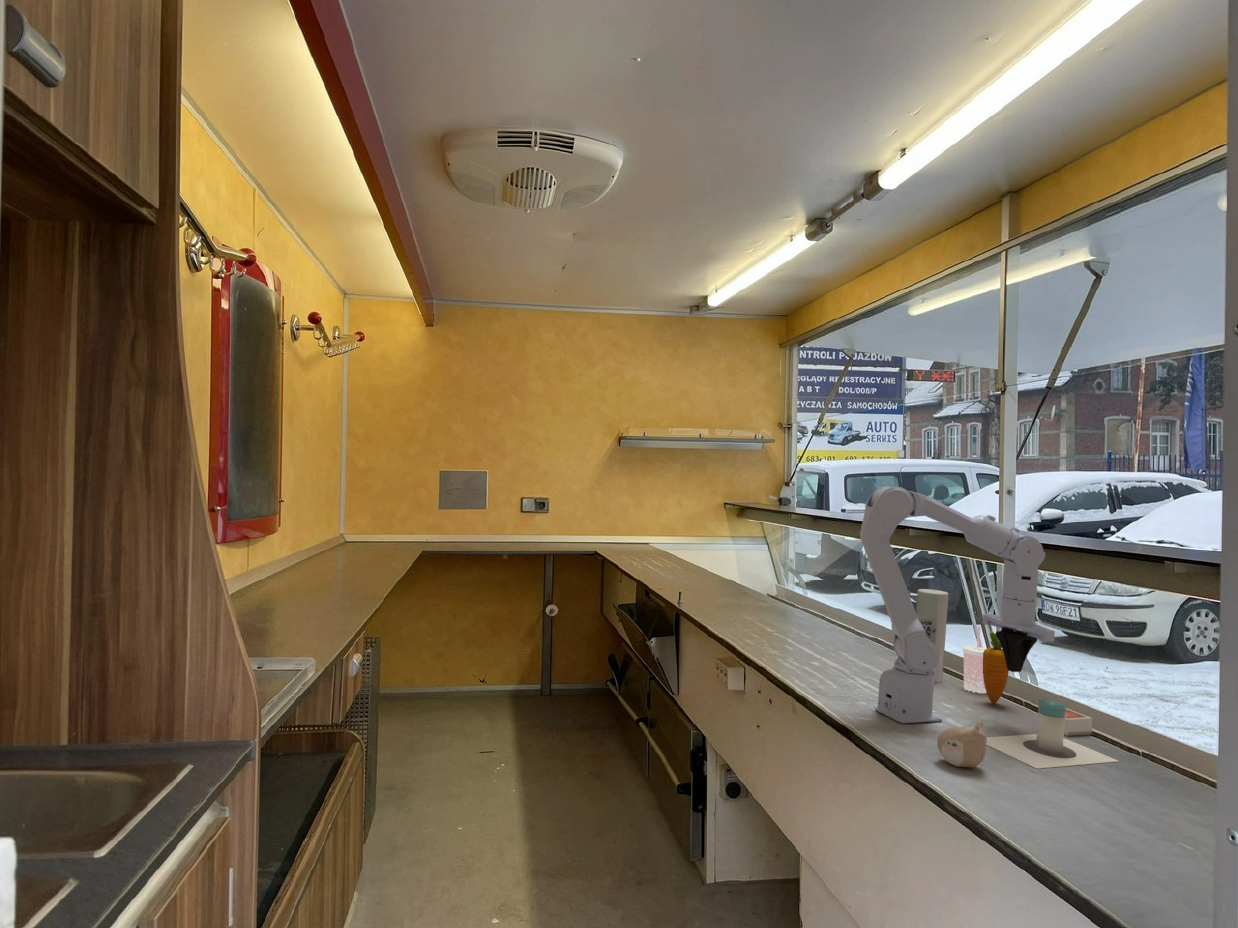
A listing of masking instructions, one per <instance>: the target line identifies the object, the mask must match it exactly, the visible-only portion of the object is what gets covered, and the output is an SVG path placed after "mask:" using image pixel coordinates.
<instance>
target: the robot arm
mask: <svg viewBox="0 0 1238 928" xmlns="http://www.w3.org/2000/svg"><path fill="white" fill-rule="evenodd" d="M864 507H865V508H864V515H863V518H862V523H861V527H860V531H859V538H860V541H861V544H862V547H863V550H864V553H865V554H866V557H867V560H868V562H869V565H870V568H871V570H872V573H873V576H874V578H875V582H876V584H877V587H878V590H879V592H880V595H881V598H882V600H883V603H884V605H885V609H886V611H887V614H888V616H889V619H890V622H891V630H892V633H893V644H892V645H893V651H894V652H895V654H896V656H897V658H896V660H895V661H894V666H893V667H892V668H891V669H887V670H886V669H885V670H884V671H882V673H881V675H880V676H879V683H878V696H877V697H878V699H877V706H875V707H874V710H875V711H877V712H879V713H881V714H882V715H885V716H887V717H888V718H891V719H893V720H894V721H897V722H899V723H901V724H915V723H931V722H932V723H933V722H943V718H942V717H940V716H938V715H937V714H934V713H933V706H934V705H933V704H934V702H933V701H934V691H935V690H934V688H935V683H934V675H935V673H934V672H935V669H934V668H935V667H936V666H937V664H938V661H939V652H938V649H937V647H936V646H935V645H934V644H933V643H932V642H931V641H930V640H929V639H928V637H927V635H926V632H925V630H924V628H923V626H922V625H921V623H920V621H919V619H918V617H917V615H916V612H917V611H916V610H915V607H914V604H913V602H912V598H911V596H910V594H909V590H908V589H907V585H906V583H905V579H904V577H903V574H902V572H901V569H900V567H899V564H898V561H897V558H896V556H895V553H894V551H893V548H892V545H891V543H890V539H891V536H892V535H893V534H894V532H895V530H896V528H897V526H898V525H900V524H901V523H902V522H903V521H905V520H906V519H907V518H908V517H909V516H910V517H914V518H915V517H916V518H917V517H925V518H926V517H927V518H930V519H931V520H934V521H935V522H936V521H937V523H941V524H943V525H945V526H948V527H950V528H953V529H955V530H957V531H960V532H962V533H963V535H964V538H965V540H966V542H967V543H969V544H971V545H973V546H976V547H978V548H980V549H982V550H984V551H986V552H989V553H991V554H993V555H995V556H997V557H1001V559H1003V574H1002V588H1001V601H1000V603H1001V604H1000V615H996V614H992V613H984V614H982V624H983V625H987V626H992V627H996V628H999V629H1000V631H999V630H998V631H997V630H996V631H995V633H996V636H997V638H998V640H999V642H1000V644H1001V646H1002V648H1001V649H1003V652H1004V656H1005V660H1006V665H1007V670H1008V671H1009V672H1012V673H1021V672H1022V670H1023V666H1024V664H1025V661H1026V660H1027V658H1028V655H1029V653H1030V651H1031V650H1032V648H1033V647H1034V645H1035V644H1036V643H1037V642H1038V640H1041V641H1042V642H1055V635H1056V633H1055V630H1053V629H1050V628H1047V627H1044V626H1042V625H1039V624H1038V623H1037V622H1036V610H1037V608H1036V607H1037V596H1038V595H1037V593H1038V578H1039V577H1038V575H1039V566H1040V565H1041V564H1042V563H1043V562H1044V560H1045V558H1046V552H1045V551H1044V548H1043V545H1042V544H1041V543H1040V541H1039V540H1038V539H1037V538H1035V537H1033V536H1028V535H1025V534H1022V533H1020V531H1021V530H1020V529H1019V528H1018V527H1015V526H1014V527H1011V528H1010V527H1008V526H1006V525H1005V524H1002V523H1000V522H998V521H996V520H997V518H996V517H995V516H992V515H990V514H986V516H985V515H983V514H979V515H975V516H973V517H970V516H968V515H966V514H964V513H962V512H960V511H958V510H956V509H954V508H952V507H951V506H949V505H946V504H944V503H943V502H940V501H938V500H936V499H934V498H932V497H930V496H927V495H924V494H922V493H918V492H915V491H912V490H907V489H906V488H903V487H901V486H892V485H891V486H889V485H884V486H880V487H877V488H875V490H874V491H872V494H870V496H869V498H868V499H867V500H866V502H865V506H864Z"/></svg>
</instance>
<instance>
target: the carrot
mask: <svg viewBox="0 0 1238 928" xmlns="http://www.w3.org/2000/svg"><path fill="white" fill-rule="evenodd" d="M989 636H990V640H991V641H989V642H990V644H991V645H992V647H988V648H987V649H986V650H984V652H983V678H984V685H985V689H986V692H987V693H986V694H987V697H988V699H989V701H990V703H991V704H992V705H995V704H996V703H998V701H999V700H1000V699H1001V697H1002V695H1003V693H1004V691H1005V689H1006V685H1007V681H1008V677H1009V672H1010V671H1008V670H1007V665H1006V660H1005V656H1004V652H1003V649H1002V646H1001V644H1000V642H999V640H998V638H997V636H996V632H994V630H991V631H990V632H989Z"/></svg>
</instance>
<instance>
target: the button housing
mask: <svg viewBox="0 0 1238 928" xmlns="http://www.w3.org/2000/svg"><path fill="white" fill-rule="evenodd" d="M1065 711H1067V712H1071V713H1074V714H1076V715H1078V716H1079V718H1069V719H1068V718H1065V723H1064V736H1067V737H1069V736H1070V737H1072V736H1084V735H1085V736H1087V735H1093V734H1092V732H1093V717H1091V716H1088V715H1085V714H1083V713H1080V712H1077V711H1074V710H1072V709H1069V708H1067V707H1066V708H1065Z"/></svg>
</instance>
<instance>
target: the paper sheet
mask: <svg viewBox="0 0 1238 928" xmlns="http://www.w3.org/2000/svg"><path fill="white" fill-rule="evenodd" d="M1036 737H1037V733H1033V734H1032V733H1030V734H1017V735H1005V736H1004V735H1003V736H990V737H989V736H988V737H986V739H987V743H986V746H988V747H990V748H992V749H994V750H997V751H998V752H1000V753H1003V754H1004V755H1007V756H1009V757H1011V758H1012V759H1015V760H1018V761H1020V762H1021V763H1024V764H1025V765H1028V766H1030V767H1031V768H1034V769H1036V770H1040V769H1042V770H1043V769H1050V768H1051V769H1053V768H1063V767H1074V766H1082V765H1083V766H1084V765H1085V766H1086V765H1096V764H1107V763H1116V762H1117V763H1118V762H1120V760H1117V759H1116V758H1113V757H1110V756H1108V755H1105V754H1104V753H1100V752H1099V751H1096V750H1093V749H1092V748H1089V747H1087V746H1084V745H1081V744H1079V743H1076V742H1074V741H1072V740H1069V739H1067V738H1065V737H1064V739H1063V752H1062V753H1051V752H1046V751H1043V750H1040V749H1038V748H1037V747H1036Z"/></svg>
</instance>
